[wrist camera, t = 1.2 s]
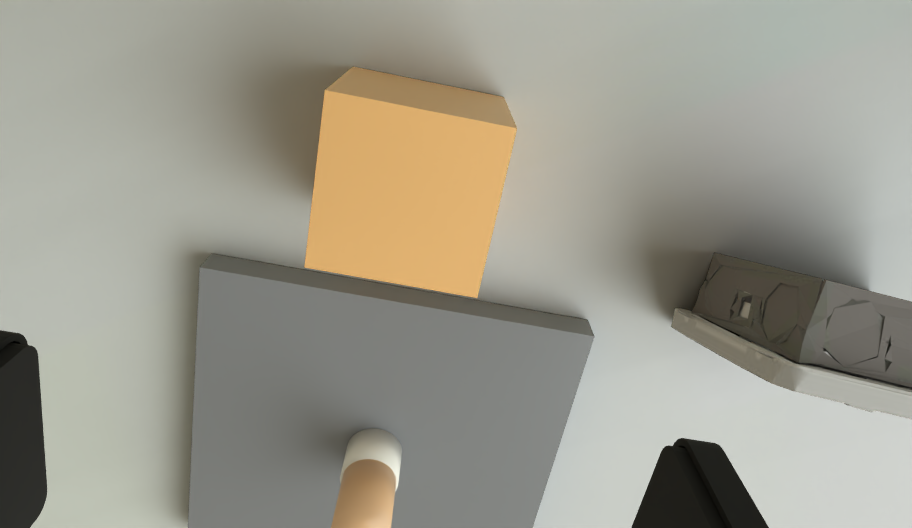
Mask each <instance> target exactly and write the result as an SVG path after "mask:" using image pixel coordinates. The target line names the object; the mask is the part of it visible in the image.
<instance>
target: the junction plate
mask: <svg viewBox="0 0 912 528" xmlns="http://www.w3.org/2000/svg"><path fill="white" fill-rule="evenodd" d="M593 339H594V334H593V332H592V329H591V327H590V324H589V322H588V320H585V319H579V318H574V317H568V316H562V315H557V314H551V313H545V312H540V311H534V310H528V309H523V308H517V307H512V306H506V305H500V304H495V303H489V302H483V301H478V300H472V299H466V298H461V297H455V296H449V295H444V294H438V293H432V292H427V291H421V290H415V289H410V288H404V287H398V286H393V285H387V284H381V283H376V282H370V281H365V280H359V279H353V278H348V277H342V276H336V275H331V274H325V273H319V272H314V271H308V270H302V269H297V268H291V267H285V266H280V265H274V264H268V263H263V262H257V261H251V260H246V259H240V258H235V257H229V256H223V255H218V254H211V255H210V256H209V257H208V259H207V260H206V261H205V262H204V263H203V264H202V265H201V266H200V269H199V291H198V314H197V336H196V358H195V381H194V403H193V425H192V448H191V470H190V492H189V515H188V528H532V527H533V524H534V521H535V518H536V515H537V512H538V509H539V506H540V503H541V500H542V497H543V494H544V490H545V487H546V484H547V481H548V478H549V475H550V472H551V469H552V466H553V463H554V460H555V456H556V453H557V450H558V447H559V444H560V441H561V438H562V435H563V432H564V429H565V426H566V422H567V419H568V416H569V413H570V410H571V407H572V404H573V401H574V398H575V395H576V392H577V389H578V385H579V382H580V379H581V376H582V373H583V370H584V367H585V364H586V361H587V358H588V355H589V351H590V348H591V345H592V342H593Z"/></svg>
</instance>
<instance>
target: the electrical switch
mask: <svg viewBox="0 0 912 528" xmlns="http://www.w3.org/2000/svg"><path fill="white" fill-rule="evenodd" d="M671 327H672V328H674V329H675V330H677V331H679V332H680V333H682V334H683V335H685V336H687V337H688V338H690V339H692V340H694V341H695V342H697V343H699V344H701V345H702V346H704V347H706V348H708V349H709V350H711V351H713V352H715V353H716V354H718V355H720V356H722V357H723V358H725V359H727V360H729V361H731V362H732V363H734V364H736V365H738V366H740V367H741V368H743V369H745V370H747V371H749V372H751V373H753V374H755V375H757V376H758V377H760V378H762V379H764V380H766V381H768V382H770V383H772V384H775V385H778V386H780V387H783V388H786V389H789V390H792V391H795V392H799V393H803V394H807V395H812V396H816V397H820V398H824V399H828V400H833V401H837V402H841V403H844V404H846V405H848V406H852V407H855V408H859V409H862V410H865V411H869V412H875V411H879V412H883V413H888V414H892V415H896V416H900V417H905V418H909V419H912V302H911V301H907V300H903V299H899V298H895V297H891V296H887V295H883V294H879V293H875V292H872V291H868V290H864V289H860V288H856V287H852V286H848V285H844V284H840V283H836V282H833V281H829V280H825V279H824V281H822V279H821V278H817V277H813V276H808V275H804V274H800V273H796V272H792V271H788V270H784V269H780V268H776V267H772V266H767V265H763V264H759V263H755V262H751V261H747V260H743V259H739V258H735V257H731V256H726V255H722V254H718V253H714V254H713V258H712V261H711V264H710V268H709V271H708V274H707V277H706V280H705V282H704V283H703V285H702V287H701V289H700V291H699V295H698V299H697V302H696V304H695V306H694V308H693V310H692V311H690V310H686V309H682V308H675V312H674V317H673V321H672V326H671Z"/></svg>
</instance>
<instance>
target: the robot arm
mask: <svg viewBox="0 0 912 528" xmlns="http://www.w3.org/2000/svg"><path fill="white" fill-rule="evenodd" d="M46 496H47V480H46V466H45V451H44V436H43V421H42V407H41V392H40V377H39V363H38V353H37V350H36V349H35V347H33V346H29V345H28V344H27V340H26V339H25V337H24V336H23V335H21V334H19V333H13V332H7V331H0V528H30V527H31V525H32V524H33V523H34V522H35V520H36V519H37V518H38V516H39V515H40V513H41V511H42V509H43V506H44V504H45V501H46ZM632 528H769V527H768V526H767V524H766V522H765V521H764V519H763V517H762V515H761V514H760V512H759V510H758V509H757V507H756V505H755V504H754V502H753V500H752V498H751V497H750V495H749V493H748V492H747V490H746V488H745V486H744V485H743V483H742V481H741V480H740V478H739V476H738V474H737V473H736V471H735V469H734V468H733V466H732V464H731V463H730V461H729V459H728V457H727V456H726V454H725V452H724V451H723V449H722V448H721V447H720V446H719V445H718V444H715V443H710V442H704V441H697V440H691V439H685V438H681V439H678V440H677V441H676V442H675V443H674V445H673V446H666V447H664V448H663V450H662V452H661V454H660V457H659V459H658V462H657V464H656V467H655V469H654V472H653V474H652V477H651V479H650V482H649V485H648V487H647V490H646V492H645V495H644V497H643V500H642V502H641V505H640V507H639V510H638V513H637V515H636V518H635V520H634V523H633V525H632Z"/></svg>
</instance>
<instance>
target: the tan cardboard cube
mask: <svg viewBox="0 0 912 528" xmlns="http://www.w3.org/2000/svg"><path fill="white" fill-rule="evenodd" d="M516 131H517V127H516V125H515V122H514V120H513V117H512V115H511V113H510V110H509V108H508V106H507V103H506V101H505V99H504V97H501V96H496V95H491V94H486V93H481V92H477V91H472V90H467V89H462V88H457V87H452V86H447V85H442V84H437V83H432V82H427V81H422V80H417V79H412V78H407V77H403V76H398V75H393V74H388V73H383V72H378V71H373V70H368V69H363V68H358V67H352V68H351V69H350V70H348V71H347V72H346V73H345V74H343V75H342V76H341V77H340V78H339V79H337V80H336V81H335V82H334V83H333V84H331V85H330V86H329V87H328V88H327V89H325V93H324V101H323V110H322V119H321V127H320V136H319V145H318V154H317V162H316V171H315V180H314V188H313V197H312V206H311V214H310V223H309V232H308V241H307V249H306V258H305V268H311V269H316V270H322V271H328V272H333V273H339V274H345V275H350V276H356V277H361V278H367V279H373V280H378V281H384V282H390V283H395V284H401V285H407V286H412V287H418V288H424V289H429V290H435V291H440V292H446V293H452V294H457V295H463V296H469V297H474V298H477V297H478V292H479V288H480V284H481V280H482V275H483V271H484V267H485V263H486V258H487V254H488V250H489V246H490V241H491V237H492V233H493V229H494V224H495V220H496V216H497V212H498V207H499V203H500V199H501V195H502V190H503V186H504V182H505V178H506V173H507V169H508V165H509V161H510V156H511V152H512V148H513V144H514V139H515V135H516Z"/></svg>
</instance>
